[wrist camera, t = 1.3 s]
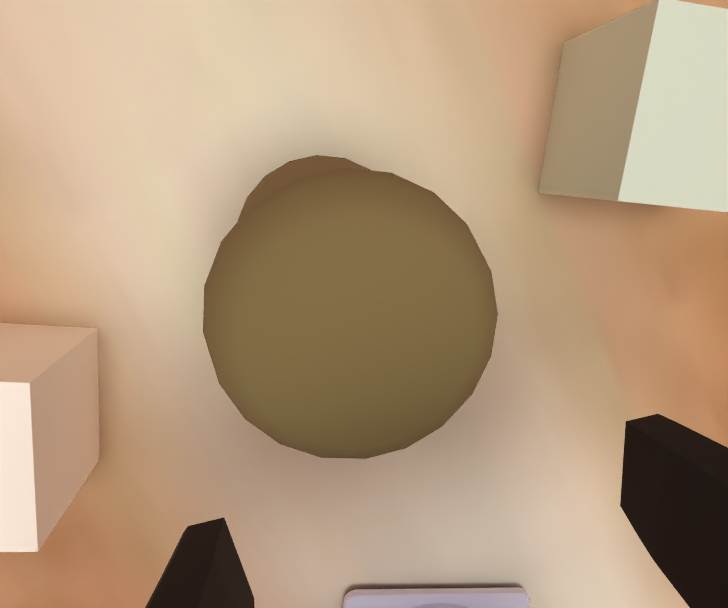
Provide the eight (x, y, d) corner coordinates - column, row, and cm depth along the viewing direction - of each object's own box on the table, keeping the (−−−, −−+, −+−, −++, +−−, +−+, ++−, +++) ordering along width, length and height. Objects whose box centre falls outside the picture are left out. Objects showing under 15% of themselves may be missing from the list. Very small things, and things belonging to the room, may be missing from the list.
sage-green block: (662, 205, 20) (779, 217, 15) (536, 192, 19) (617, 200, 14) (694, 62, 19) (832, 25, 14) (562, 42, 18) (660, -3, 13)
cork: (204, 195, 18) (74, 234, 7) (372, 127, 18) (487, 68, 7) (278, 353, 19) (259, 574, 9) (431, 290, 20) (593, 432, 9)
